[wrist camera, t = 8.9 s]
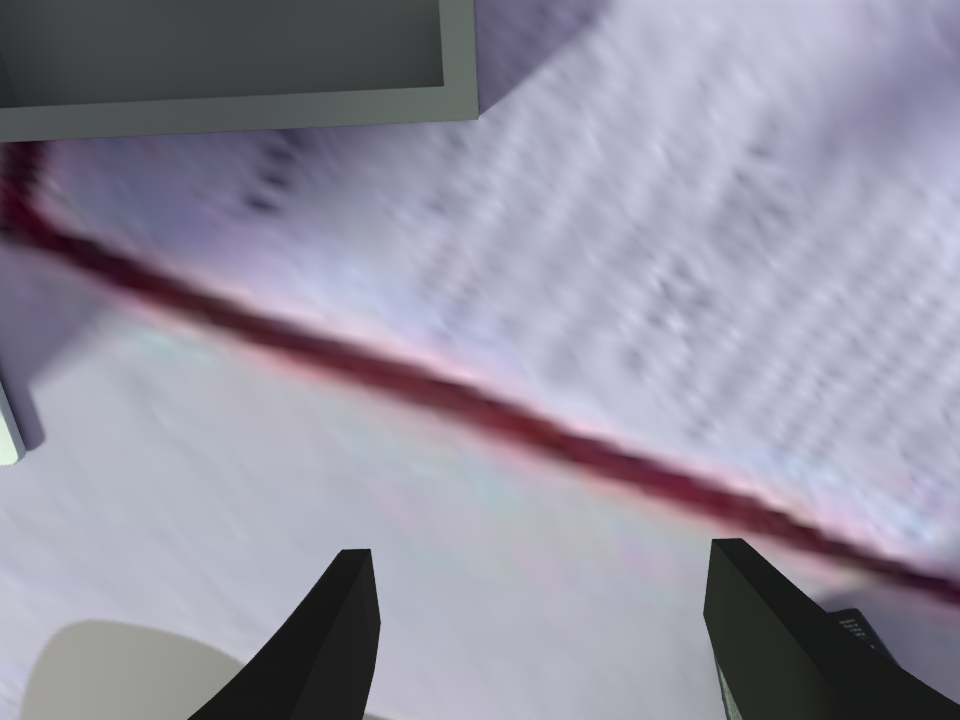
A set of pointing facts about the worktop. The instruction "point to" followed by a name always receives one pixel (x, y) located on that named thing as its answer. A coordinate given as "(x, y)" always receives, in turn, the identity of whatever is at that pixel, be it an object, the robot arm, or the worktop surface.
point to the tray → (231, 65)
